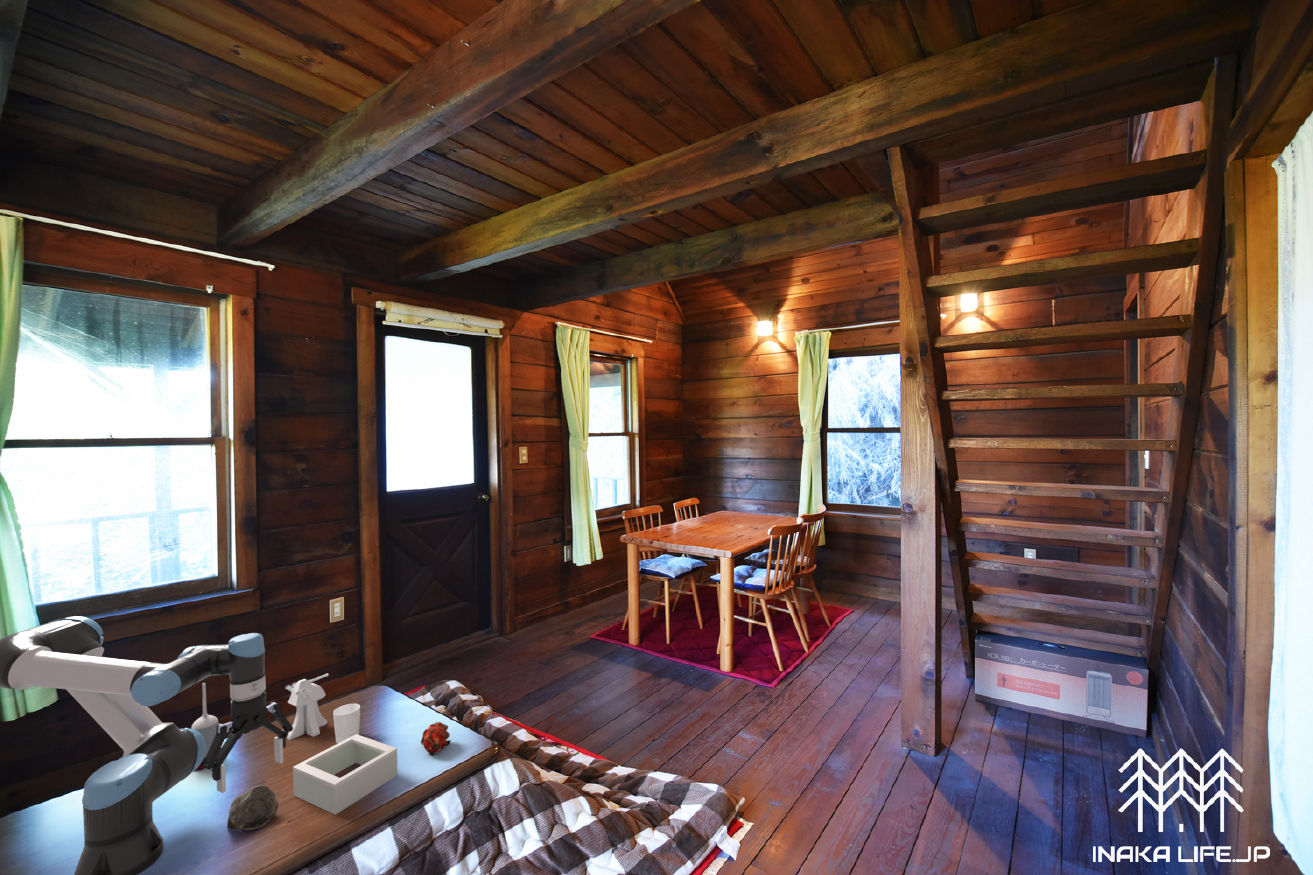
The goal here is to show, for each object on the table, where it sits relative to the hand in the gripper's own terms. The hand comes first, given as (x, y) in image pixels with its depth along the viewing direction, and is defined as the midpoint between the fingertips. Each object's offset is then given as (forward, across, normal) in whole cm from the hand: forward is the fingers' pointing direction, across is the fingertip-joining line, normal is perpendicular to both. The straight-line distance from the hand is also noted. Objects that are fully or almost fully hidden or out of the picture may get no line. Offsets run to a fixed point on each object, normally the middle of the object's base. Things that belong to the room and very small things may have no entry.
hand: (251, 775), depth 145 cm
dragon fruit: (+13, +45, -17) cm, 49 cm away
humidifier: (+12, +9, +44) cm, 47 cm away
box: (+12, +21, -8) cm, 25 cm away
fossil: (+13, 0, 0) cm, 13 cm away
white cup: (+12, +37, +16) cm, 42 cm away
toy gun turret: (+12, +35, +34) cm, 50 cm away
